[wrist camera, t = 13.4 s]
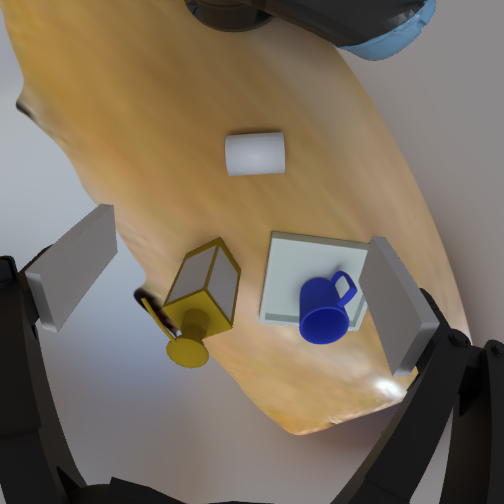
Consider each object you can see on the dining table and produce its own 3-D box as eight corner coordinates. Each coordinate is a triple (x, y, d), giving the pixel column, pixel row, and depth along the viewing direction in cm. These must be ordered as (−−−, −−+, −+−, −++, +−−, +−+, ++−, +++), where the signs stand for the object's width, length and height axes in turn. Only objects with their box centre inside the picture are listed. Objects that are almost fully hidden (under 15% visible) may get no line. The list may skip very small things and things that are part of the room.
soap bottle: (203, 210, 52) (162, 295, 31) (241, 269, 57) (226, 371, 36) (169, 228, 54) (115, 316, 33) (207, 283, 59) (179, 383, 38)
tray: (272, 231, 53) (272, 237, 51) (382, 245, 53) (386, 252, 51) (259, 314, 62) (258, 322, 59) (355, 322, 62) (357, 331, 60)
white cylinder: (284, 139, 40) (223, 143, 40) (285, 179, 43) (228, 183, 44) (281, 127, 44) (228, 130, 45) (283, 163, 48) (232, 166, 49)
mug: (361, 269, 55) (375, 303, 46) (321, 314, 60) (328, 350, 52) (326, 248, 53) (336, 280, 45) (286, 296, 59) (289, 333, 50)
